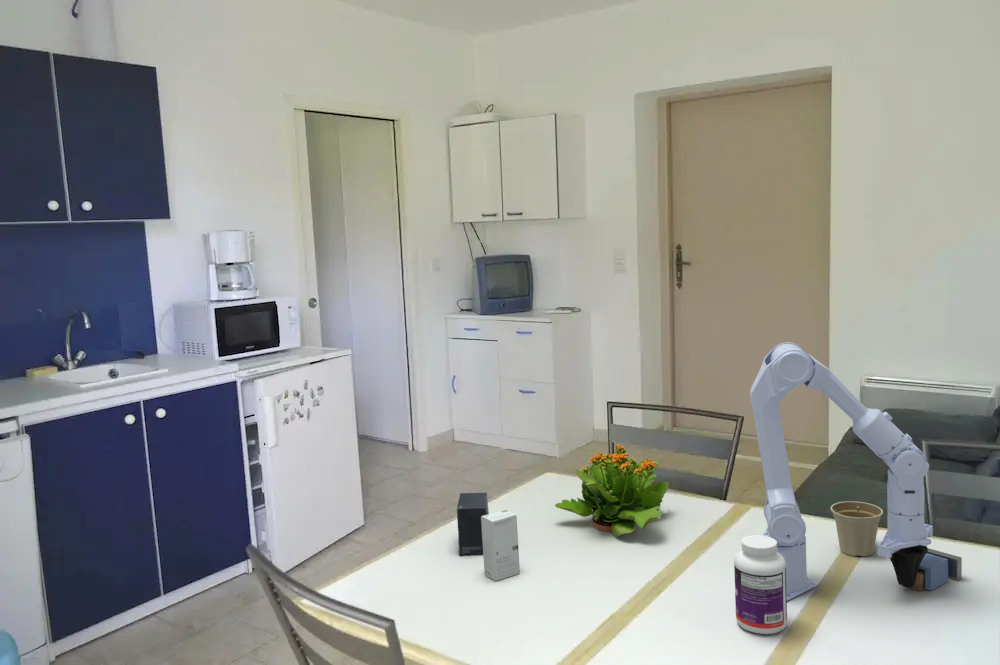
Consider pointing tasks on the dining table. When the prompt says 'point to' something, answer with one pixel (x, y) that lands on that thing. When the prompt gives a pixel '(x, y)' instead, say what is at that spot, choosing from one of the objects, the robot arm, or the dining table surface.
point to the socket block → (934, 570)
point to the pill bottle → (760, 586)
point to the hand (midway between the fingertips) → (906, 585)
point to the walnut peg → (919, 581)
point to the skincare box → (500, 545)
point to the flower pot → (856, 526)
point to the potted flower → (618, 493)
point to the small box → (471, 522)
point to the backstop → (950, 564)
